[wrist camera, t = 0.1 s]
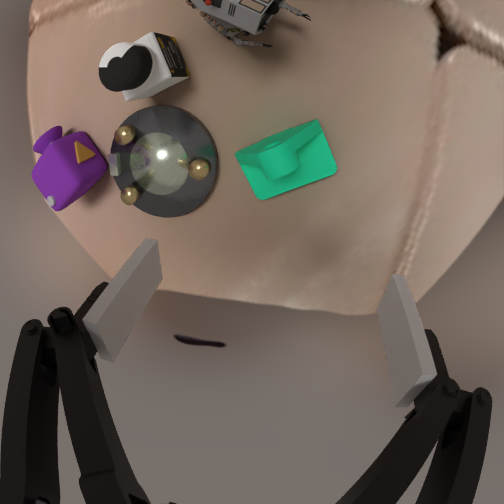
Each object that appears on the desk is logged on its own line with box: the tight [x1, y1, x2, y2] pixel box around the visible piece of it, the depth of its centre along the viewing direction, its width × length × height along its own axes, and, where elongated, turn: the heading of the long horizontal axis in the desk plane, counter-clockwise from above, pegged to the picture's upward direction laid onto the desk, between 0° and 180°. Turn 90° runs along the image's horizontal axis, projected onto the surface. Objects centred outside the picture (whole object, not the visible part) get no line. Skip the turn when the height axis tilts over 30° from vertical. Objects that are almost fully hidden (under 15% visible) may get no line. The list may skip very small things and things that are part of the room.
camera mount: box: [235, 119, 337, 200], centre depth 35 cm, size 12×8×10 cm, turn 116°
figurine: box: [186, 0, 311, 47], centre depth 23 cm, size 9×12×15 cm
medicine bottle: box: [99, 32, 190, 101], centre depth 29 cm, size 7×7×12 cm
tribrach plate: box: [108, 105, 218, 217], centre depth 41 cm, size 18×18×4 cm
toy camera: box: [32, 126, 107, 211], centre depth 39 cm, size 11×14×10 cm
